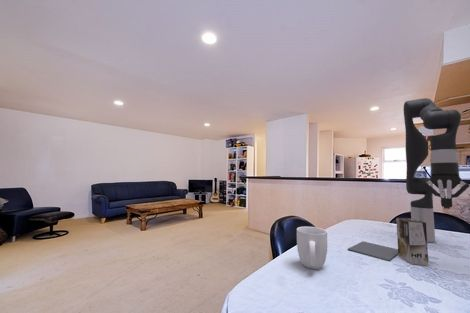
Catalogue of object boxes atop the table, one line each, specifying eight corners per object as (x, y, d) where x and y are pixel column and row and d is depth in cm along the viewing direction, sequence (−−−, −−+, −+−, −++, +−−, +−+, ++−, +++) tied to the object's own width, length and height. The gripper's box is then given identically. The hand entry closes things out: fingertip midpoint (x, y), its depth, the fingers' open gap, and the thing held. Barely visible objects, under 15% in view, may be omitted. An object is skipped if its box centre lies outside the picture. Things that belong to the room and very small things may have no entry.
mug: (331, 279, 69) (330, 238, 71) (296, 274, 73) (295, 235, 74) (326, 261, 84) (325, 227, 85) (297, 258, 87) (296, 225, 88)
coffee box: (429, 265, 81) (427, 222, 82) (410, 264, 82) (408, 221, 84) (414, 256, 90) (412, 217, 91) (397, 255, 91) (395, 217, 93)
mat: (362, 242, 108) (362, 241, 108) (401, 251, 96) (401, 250, 96) (347, 250, 97) (347, 248, 97) (389, 261, 85) (389, 259, 85)
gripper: (470, 162, 78) (474, 209, 77) (423, 163, 88) (425, 205, 87) (469, 160, 74) (472, 212, 72) (419, 162, 84) (421, 207, 82)
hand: (447, 208), depth 80 cm, fingers closed
